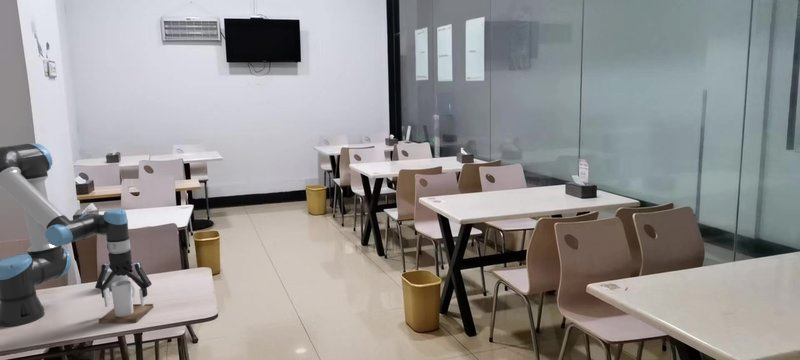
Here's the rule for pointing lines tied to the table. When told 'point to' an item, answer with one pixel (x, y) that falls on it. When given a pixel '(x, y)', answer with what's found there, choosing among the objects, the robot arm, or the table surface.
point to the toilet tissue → (115, 279)
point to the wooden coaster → (134, 317)
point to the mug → (123, 297)
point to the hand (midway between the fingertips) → (125, 305)
